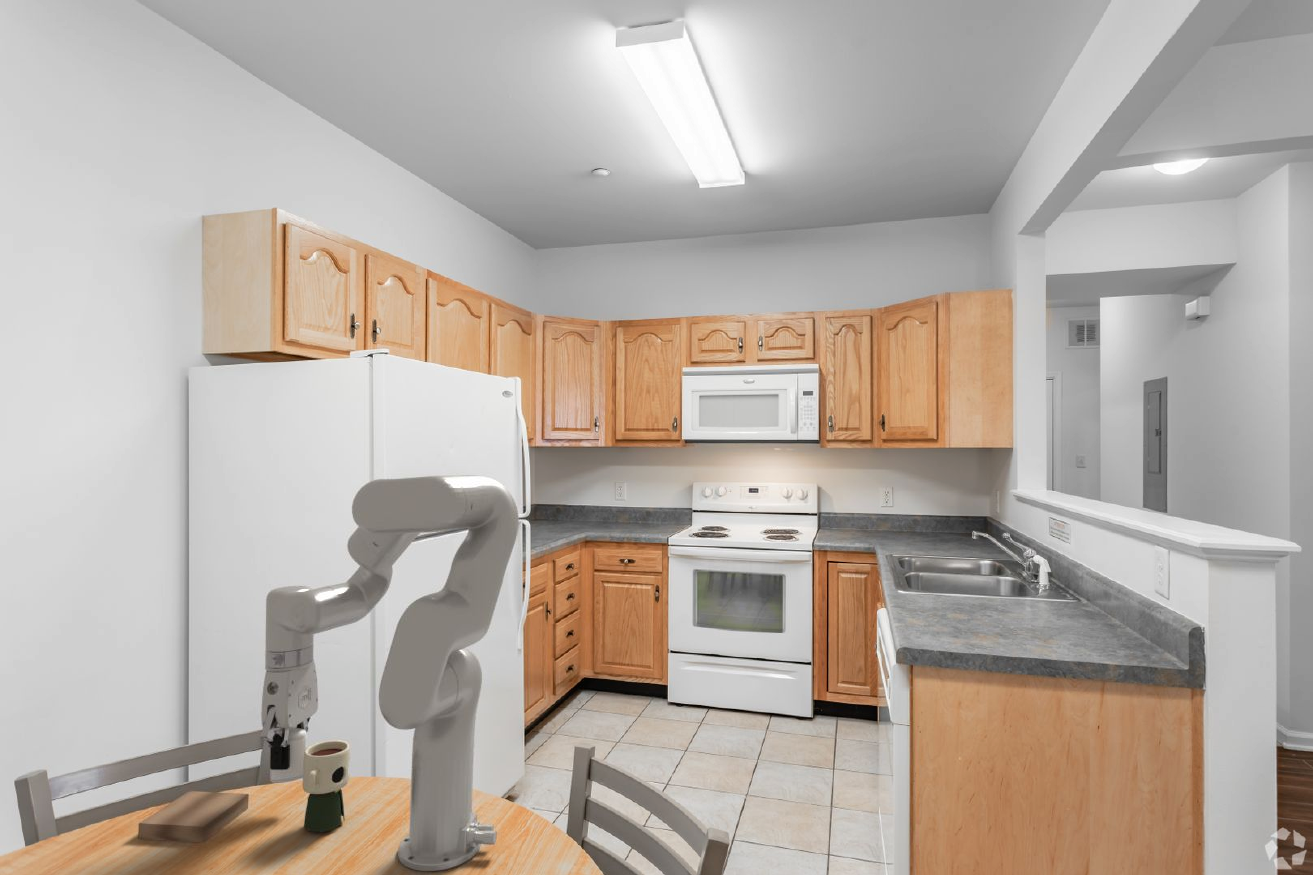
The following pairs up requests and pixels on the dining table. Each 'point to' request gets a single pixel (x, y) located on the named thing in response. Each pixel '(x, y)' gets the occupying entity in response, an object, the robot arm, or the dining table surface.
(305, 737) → the eye dropper bottle
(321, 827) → the character mug
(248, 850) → the dining table surface
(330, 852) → the dining table surface
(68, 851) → the dining table surface
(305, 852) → the dining table surface
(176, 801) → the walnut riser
